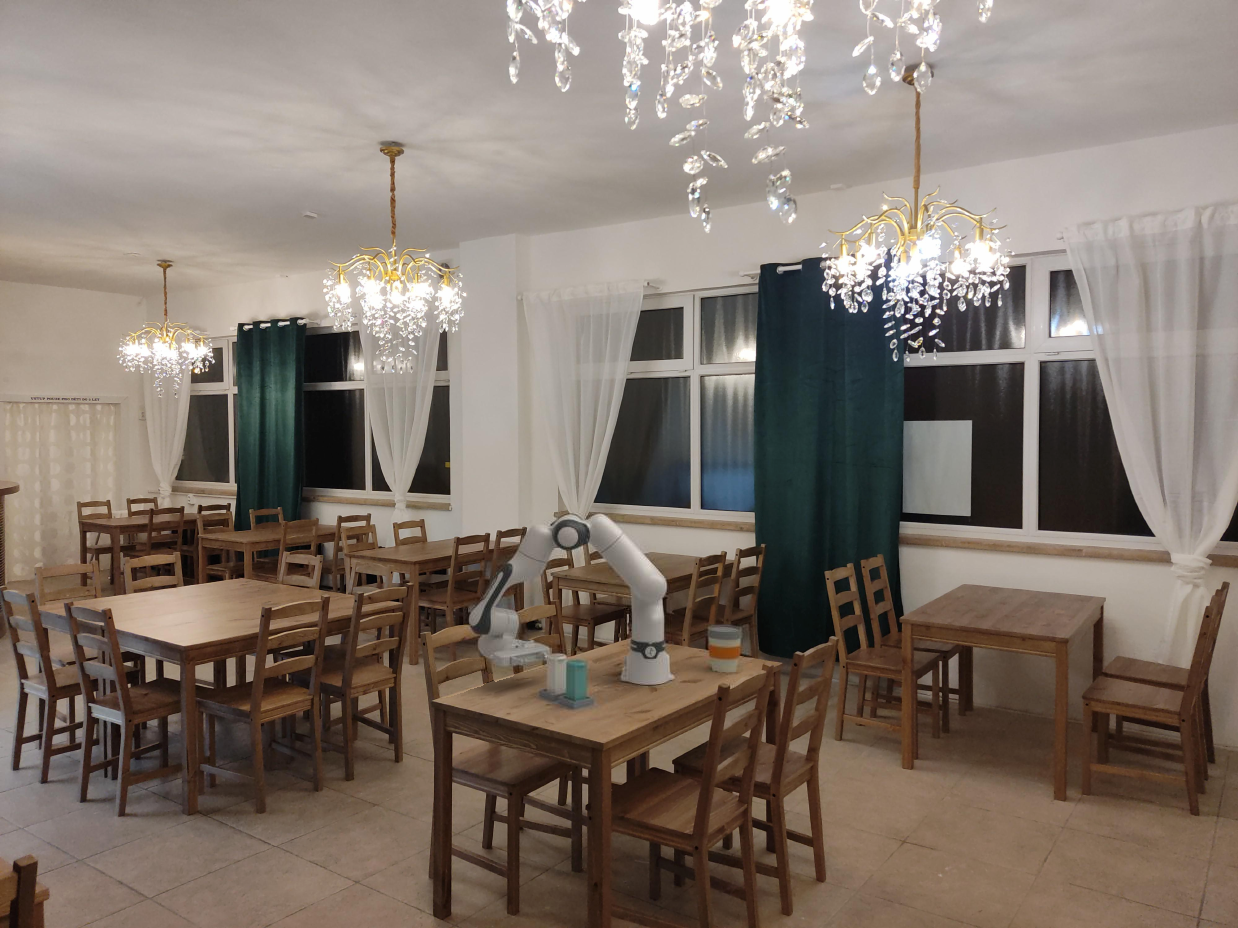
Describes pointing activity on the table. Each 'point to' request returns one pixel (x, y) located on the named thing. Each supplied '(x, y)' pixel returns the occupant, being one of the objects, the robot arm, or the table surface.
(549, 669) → the post
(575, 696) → the teal square canister
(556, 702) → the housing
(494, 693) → the table surface
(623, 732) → the table surface
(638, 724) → the table surface
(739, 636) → the reusable coffee cup
